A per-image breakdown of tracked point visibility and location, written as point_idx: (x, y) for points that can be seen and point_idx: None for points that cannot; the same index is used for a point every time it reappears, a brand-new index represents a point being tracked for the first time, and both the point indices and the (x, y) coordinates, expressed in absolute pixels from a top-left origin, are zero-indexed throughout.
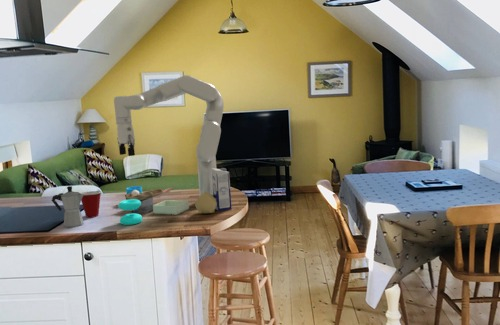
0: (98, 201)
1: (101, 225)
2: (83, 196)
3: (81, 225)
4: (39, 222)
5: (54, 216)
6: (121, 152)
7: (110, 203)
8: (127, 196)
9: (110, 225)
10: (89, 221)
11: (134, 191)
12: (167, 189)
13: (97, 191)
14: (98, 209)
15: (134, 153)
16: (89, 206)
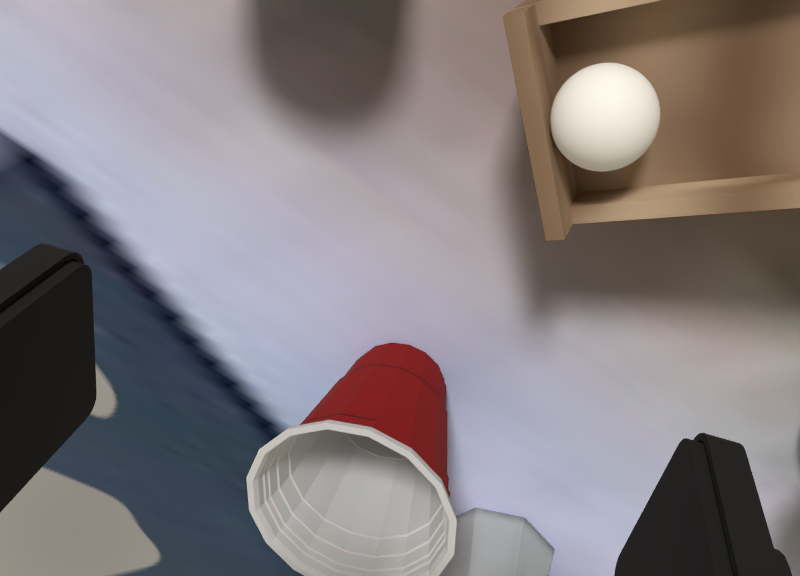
0: (438, 440)
1: None
2: (384, 573)
3: (553, 550)
4: (232, 560)
5: (165, 458)
6: (59, 421)
7: (117, 17)
8: (567, 213)
9: (775, 507)
10: (517, 478)
11: (625, 158)
12: None
13: (325, 429)
14: (434, 389)
15: (747, 483)
16: (426, 482)
